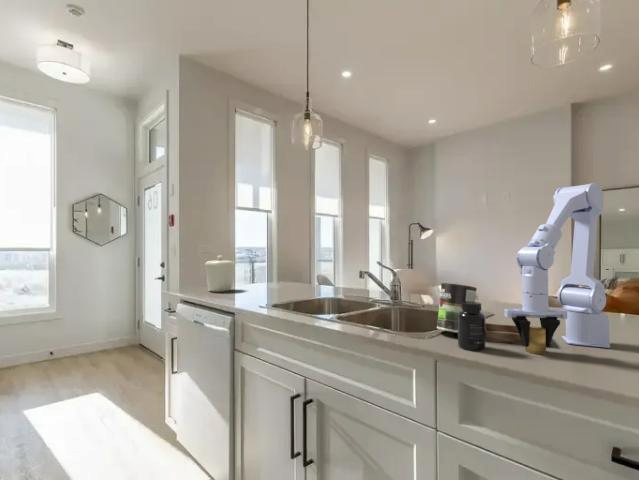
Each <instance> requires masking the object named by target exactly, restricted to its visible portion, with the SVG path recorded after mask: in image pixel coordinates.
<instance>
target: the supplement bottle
mask: <svg viewBox="0 0 639 480" xmlns="http://www.w3.org/2000/svg"><path fill="white" fill-rule="evenodd" d="M461 309H462V310H463V311H461V312H460V313H459V314H458V333H457V346H458V347H459V348H460V349H463V350H466V351H472V352H481V351H484V350H485V349H486V348H487V347H486V346H487V345H486V344H487V341H486V323H487V322H486V316H485V314H483V313H482V312H481V311H482V303H481V302H479V301H475V302H472V301H465V302H462V307H461Z"/></svg>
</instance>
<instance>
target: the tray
mask: <svg viewBox="0 0 639 480" xmlns="http://www.w3.org/2000/svg"><path fill="white" fill-rule="evenodd" d="M486 342H495V343H506V344H515V345H522V343H521V339H520V335H519V332H518V330H517V328H516V325H515V324H514V325H513V324H512V325H510V324H499V323H488V322H486Z"/></svg>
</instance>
